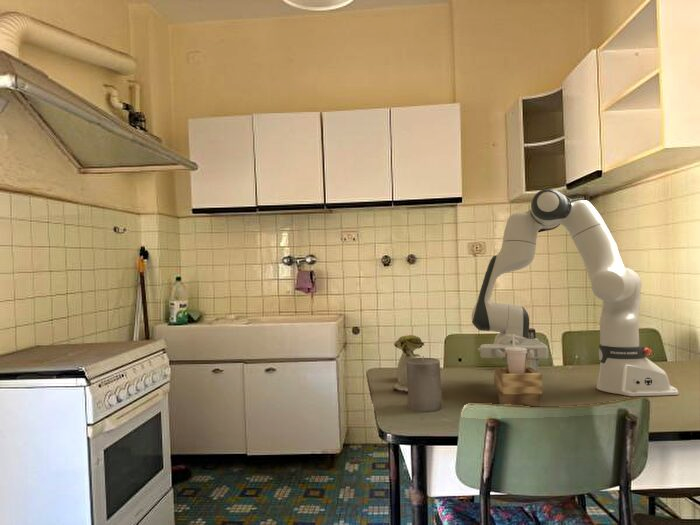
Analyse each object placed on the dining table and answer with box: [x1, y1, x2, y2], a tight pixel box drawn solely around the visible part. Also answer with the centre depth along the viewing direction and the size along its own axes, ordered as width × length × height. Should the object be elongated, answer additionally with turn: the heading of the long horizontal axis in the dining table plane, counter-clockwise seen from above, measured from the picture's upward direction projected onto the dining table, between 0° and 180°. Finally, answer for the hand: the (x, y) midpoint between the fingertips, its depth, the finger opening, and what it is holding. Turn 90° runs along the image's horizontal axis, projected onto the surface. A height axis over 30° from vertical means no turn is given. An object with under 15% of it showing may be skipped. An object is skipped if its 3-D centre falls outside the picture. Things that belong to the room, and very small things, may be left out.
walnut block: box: [496, 388, 542, 407], centre depth 154 cm, size 11×11×4 cm
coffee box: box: [525, 327, 538, 370], centre depth 202 cm, size 9×6×16 cm
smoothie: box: [505, 334, 527, 374], centre depth 154 cm, size 6×6×14 cm
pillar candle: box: [407, 355, 443, 413], centre depth 150 cm, size 10×10×15 cm
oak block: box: [493, 367, 543, 395], centre depth 154 cm, size 11×11×6 cm
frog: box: [392, 334, 425, 392], centre depth 172 cm, size 12×13×18 cm
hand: (516, 355), depth 153 cm, fingers closed on smoothie, 6 cm apart
